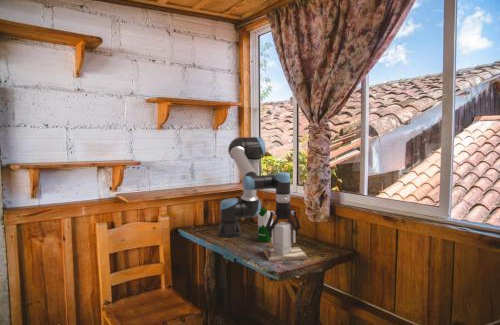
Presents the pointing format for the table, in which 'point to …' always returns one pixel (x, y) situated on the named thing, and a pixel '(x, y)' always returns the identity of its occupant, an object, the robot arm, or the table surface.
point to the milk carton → (263, 225)
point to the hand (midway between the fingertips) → (283, 242)
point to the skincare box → (282, 238)
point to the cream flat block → (294, 254)
